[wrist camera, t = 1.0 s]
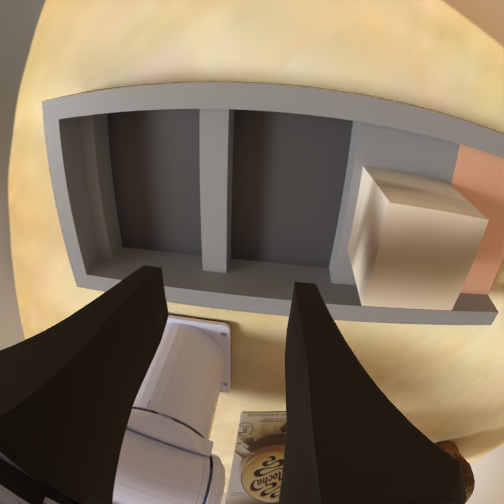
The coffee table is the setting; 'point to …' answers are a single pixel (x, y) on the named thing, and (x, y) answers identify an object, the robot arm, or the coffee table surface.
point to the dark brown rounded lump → (465, 466)
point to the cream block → (412, 241)
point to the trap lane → (255, 190)
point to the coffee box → (258, 459)
